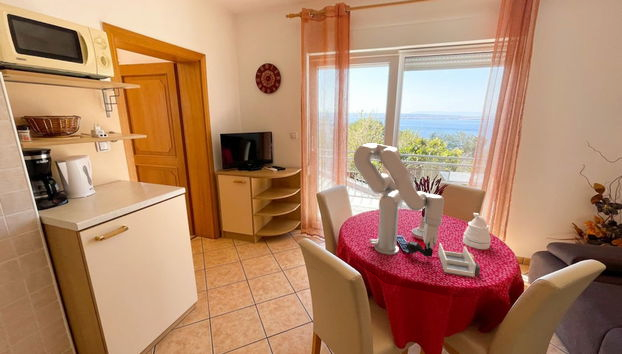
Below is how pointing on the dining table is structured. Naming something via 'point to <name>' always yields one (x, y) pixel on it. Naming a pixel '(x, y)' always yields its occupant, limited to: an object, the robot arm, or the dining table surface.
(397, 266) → the dining table surface
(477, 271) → the grey flat block
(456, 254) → the two-cubby white shelf
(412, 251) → the power plug
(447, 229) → the dining table surface
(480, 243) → the honey pot
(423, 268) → the dining table surface
